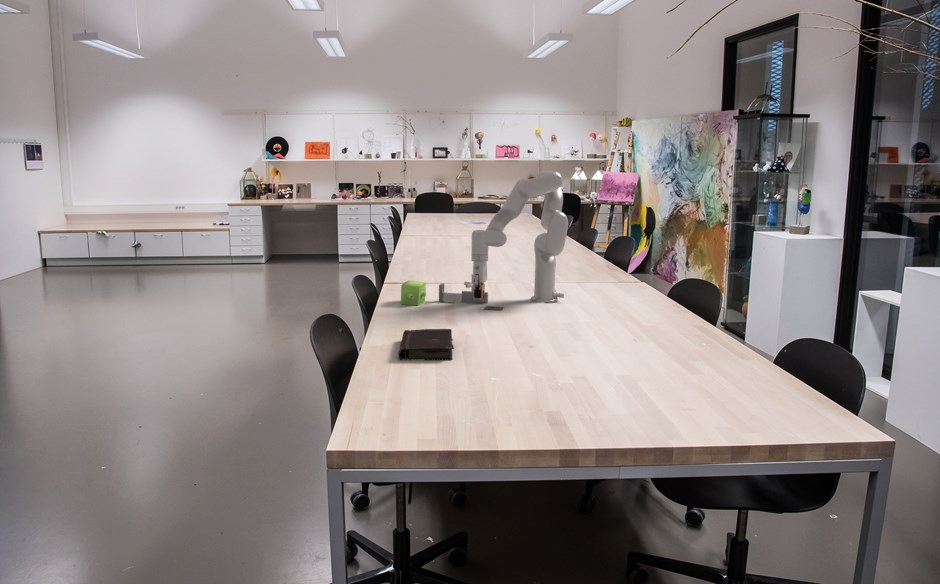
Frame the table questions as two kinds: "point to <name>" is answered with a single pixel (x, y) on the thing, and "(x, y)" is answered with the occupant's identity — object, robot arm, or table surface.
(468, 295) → the rail
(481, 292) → the clip
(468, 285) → the pipe connector
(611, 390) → the table surface
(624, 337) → the table surface
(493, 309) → the pad
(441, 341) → the diary
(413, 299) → the green square teapot
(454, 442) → the table surface
